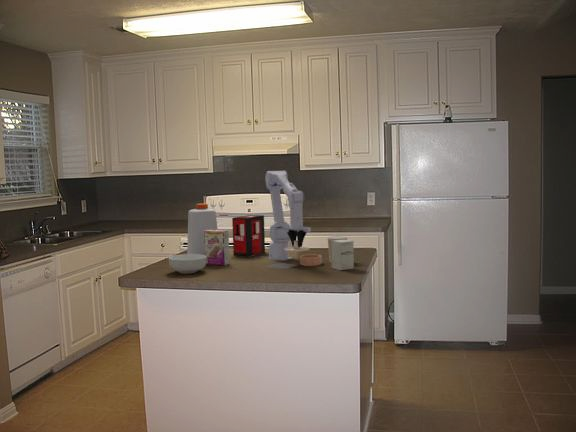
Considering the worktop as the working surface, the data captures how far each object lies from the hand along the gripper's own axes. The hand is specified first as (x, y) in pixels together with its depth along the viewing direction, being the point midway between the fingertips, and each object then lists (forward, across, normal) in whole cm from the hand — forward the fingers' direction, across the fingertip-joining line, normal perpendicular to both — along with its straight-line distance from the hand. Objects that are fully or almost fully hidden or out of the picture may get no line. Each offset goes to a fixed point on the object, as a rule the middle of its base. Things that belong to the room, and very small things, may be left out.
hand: (297, 246), depth 266 cm
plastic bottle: (+9, -54, -8) cm, 55 cm away
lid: (+2, 0, 0) cm, 2 cm away
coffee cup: (+9, +12, +16) cm, 22 cm away
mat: (+9, -5, -6) cm, 12 cm away
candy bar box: (+9, -36, -16) cm, 40 cm away
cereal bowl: (+9, -33, -38) cm, 51 cm away
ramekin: (+9, +4, +5) cm, 11 cm away
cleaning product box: (+9, -42, +14) cm, 46 cm away
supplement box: (+9, +22, +4) cm, 24 cm away
